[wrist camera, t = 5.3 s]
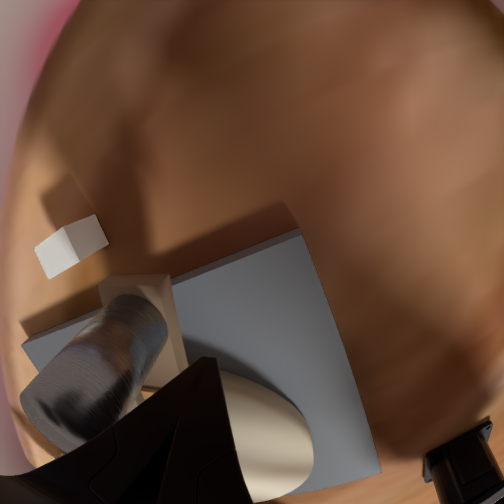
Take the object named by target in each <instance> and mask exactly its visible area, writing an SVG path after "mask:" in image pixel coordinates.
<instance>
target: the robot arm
mask: <svg viewBox="0 0 504 504" xmlns="http://www.w3.org/2000/svg"><path fill="white" fill-rule="evenodd" d="M113 426H114V427H113ZM113 426H112V425H111V426H109V427H108V428H107V429H105V430H104V431H103V432H101V433H100V434H98V435H97V436H95V437H94V438H92V439H91V440H89V441H88V442H86V443H84V444H83V445H81V446H79V447H77V448H76V449H74V450H72V451H70V452H69V453H67V454H65V455H63V456H61V457H59V458H57V459H55V460H53V461H51V462H49V463H47V464H45V465H43V466H41V467H39V468H37V469H35V470H32V471H30V472H27V473H24V474H20V475H14V476H2V475H0V504H254V502H253V500H252V498H251V495H250V493H249V491H248V488H247V486H246V483H245V481H244V477H243V474H242V470H241V467H240V463H239V459H238V455H237V451H236V447H235V442H234V438H233V433H232V428H231V424H230V419H229V414H228V409H227V404H226V399H225V394H224V389H223V384H222V378H221V373H220V368H219V362H218V358H217V357H211V356H201V357H200V358H198V359H197V360H196V361H195V362H193V363H192V364H191V365H190V366H188V367H187V368H186V369H185V370H183V371H182V372H181V373H180V374H178V375H177V376H176V377H175V378H173V379H172V380H171V381H169V382H168V383H167V384H166V385H164V386H163V387H162V388H160V389H159V390H158V391H157V392H155V393H154V394H153V395H151V396H150V397H149V398H147V399H146V400H145V401H143V402H142V403H141V404H139V405H138V406H137V407H135V408H134V409H133V410H131V411H130V412H129V413H127V414H126V415H125V416H123V417H122V418H121V419H119V420H118V421H117V422H115V423H114V424H113ZM492 426H493V423H492V422H491V421H488V422H486V423H485V424H483V425H481V426H480V427H478V428H476V429H474V430H473V431H471V432H469V433H467V434H465V435H464V436H462V437H460V438H458V439H456V440H454V441H452V442H450V443H448V444H446V445H444V446H442V447H440V448H438V449H436V450H434V451H431V452H429V453H428V454H427V455H426V456H425V473H424V481H425V483H429V482H431V481H433V482H434V485H435V489H436V492H437V495H438V498H439V501H440V504H504V476H503V474H502V472H501V470H500V468H499V465H498V463H497V461H496V459H495V457H494V455H493V453H492V451H491V449H490V447H489V445H488V443H487V442H488V439H489V436H490V433H491V430H492ZM501 497H502V498H501ZM500 498H501V499H500ZM498 499H499V500H498ZM497 500H498V501H497ZM495 501H496V502H495ZM494 502H495V503H494Z"/></svg>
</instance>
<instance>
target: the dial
mask: <svg viewBox="0 0 504 504" xmlns="http://www.w3.org/2000/svg"><path fill="white" fill-rule="evenodd" d="M97 287H98V291H99V294H100V298H101V302H102V305H103V309H102V310H101V311H100V312H99V313H98V314H97V315H96V316H95V317H94V318H93V319H92V320H91V321H90V322H89V323H88V324H87V325H86V326H85V327H84V328H83V329H82V330H81V331H80V332H79V333H78V334H77V335H76V336H75V337H74V338H73V339H72V340H71V341H70V342H69V343H68V344H67V345H66V346H65V347H64V348H63V349H62V350H61V351H60V352H59V353H58V354H57V355H56V356H55V357H54V358H53V359H52V360H51V361H50V362H49V363H48V364H47V365H46V366H45V367H44V368H43V370H42V371H41V372H40V373H39V374H38V375H37V376H36V377H35V378H34V379H33V380H32V381H31V382H30V384H29V385H28V386H27V387H26V388H25V389H24V390H23V391H22V392H21V394H20V402H21V405H22V408H23V410H24V412H25V414H26V415H27V417H28V418H29V420H30V421H31V422H32V423H33V425H34V426H35V427H36V428H37V429H38V430H39V431H40V432H41V433H42V434H43V435H44V436H45V437H46V438H47V439H48V440H49V441H51V442H52V443H53V444H55V445H56V446H57V447H59V448H60V449H62V450H63V451H65V452H67V453H69V452H70V451H72V450H74V449H76V448H77V447H79V446H81V445H83V444H84V443H86V442H88V441H89V440H91V439H92V438H94V437H95V436H97V435H98V434H100V433H101V432H103V431H104V430H105V429H107V428H108V427H109V426H111V425H112V426H113V424H114V423H115V422H117V421H118V420H119V419H121V418H122V417H123V416H125V415H126V414H127V413H129V412H130V411H131V410H133V409H134V408H135V407H137V406H138V405H139V404H141V403H142V402H143V401H145V400H146V399H147V398H149V397H150V396H151V395H153V394H154V393H155V392H157V391H158V390H159V389H160V388H162V387H163V386H164V385H166V384H167V383H168V382H169V381H171V380H172V379H173V378H175V377H176V376H177V375H178V374H180V373H181V372H182V371H183V370H185V369H186V368H187V367H188V366H190V365H191V364H188V362H187V358H186V353H185V349H184V345H183V340H182V336H181V331H180V326H179V322H178V317H177V312H176V307H175V301H174V296H173V291H172V285H171V280H170V274H121V275H110V276H108V277H107V278H106V279H105V280H103V281H102V282H101V283H100V284H98V285H97ZM220 373H221V378H222V384H223V389H224V394H225V399H226V404H227V409H228V414H229V419H230V424H231V428H232V433H233V438H234V442H235V447H236V451H237V455H238V459H239V463H240V467H241V470H242V474H243V477H244V481H245V483H246V486H247V488H248V491H249V493H250V495H251V498H252V500H253V502H254V503H256V502H262V501H267V500H271V499H274V498H277V497H280V496H282V495H285V494H287V493H289V492H291V491H293V490H294V489H296V488H297V487H299V486H300V485H301V484H303V482H304V481H305V480H306V479H307V478H308V477H309V475H310V473H311V471H312V468H313V464H314V456H313V441H312V434H311V430H310V427H309V426H308V424H307V422H306V420H305V418H304V417H303V416H302V415H301V413H300V412H299V411H298V410H297V409H296V408H295V407H294V406H293V405H292V404H291V403H289V402H288V401H287V400H285V399H284V398H282V397H281V396H280V395H278V394H277V393H275V392H273V391H271V390H270V389H268V388H266V387H264V386H262V385H260V384H258V383H256V382H253V381H251V380H249V379H247V378H244V377H241V376H238V375H235V374H233V373H230V372H226V371H222V370H220ZM113 427H114V426H113Z"/></svg>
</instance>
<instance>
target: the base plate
mask: <svg viewBox="0 0 504 504" xmlns="http://www.w3.org/2000/svg"><path fill="white" fill-rule="evenodd" d="M107 245H109V242H108V240H107V238H106V236H105V234H104V232H103V230H102V228H101V226H100V224H99V222H98V219H97V217H96V215H95V214H94V215H91V216H89V217H86V218H83V219H81V220H78V221H76V222H73V223H71V224H68V225H66V226H63V227H62V228H60V229H59V230H58V231H56V232H55V233H54V234H52V235H51V236H50V237H48V238H47V239H46V240H44V241H43V242H42V243H40V244H39V245H38V246H36V247H35V248H34V250H35V252H36V254H37V256H38V259H39V261H40V263H41V265H42V267H43V269H44V271H45V273H46V275H47V277H48V279H49V280H50V279H51V278H53V277H55V276H56V275H58V274H60V273H61V272H63V271H65V270H66V269H68V268H70V267H71V266H73V265H75V264H77V263H78V262H80V261H82V260H83V259H85V258H87V257H88V256H90V255H92V254H93V253H95V252H97V251H98V250H100V249H102V248H103V247H105V246H107ZM170 280H171V285H172V291H173V296H174V301H175V307H176V312H177V317H178V322H179V326H180V331H181V336H182V340H183V345H184V349H185V353H186V358H187V362H188V364H192V363H193V362H195V361H196V360H197V359H198V358H200V357H201V356H211V357H217V358H218V362H219V368H220V370H222V371H226V372H230V373H233V374H235V375H238V376H241V377H244V378H247V379H249V380H251V381H253V382H256V383H258V384H260V385H262V386H264V387H266V388H268V389H270V390H271V391H273V392H275V393H277V394H278V395H280V396H281V397H282V398H284V399H285V400H287V401H288V402H289V403H291V404H292V405H293V406H294V407H295V408H296V409H297V410H298V411H299V412H300V413H301V415H302V416H303V417H304V418H305V420H306V422H307V424H308V426H309V427H310V430H311V434H312V441H313V456H314V464H313V468H312V471H311V473H310V475H309V477H308V478H307V479H306V480H305V481H304V482H303V484H301V485H300V486H299V487H297V488H296V489H294V490H293V491H291V492H289V493H287V494H285V495H282V496H287V495H293V494H299V493H305V492H310V491H315V490H320V489H325V488H329V487H333V486H338V485H342V484H345V483H349V482H353V481H356V480H360V479H363V478H367V477H370V476H373V475H376V474H379V473H382V471H381V467H380V463H379V459H378V455H377V451H376V448H375V444H374V441H373V437H372V434H371V430H370V427H369V423H368V420H367V416H366V413H365V410H364V406H363V403H362V400H361V397H360V394H359V390H358V387H357V384H356V381H355V378H354V375H353V372H352V368H351V365H350V362H349V359H348V356H347V353H346V350H345V347H344V345H343V342H342V339H341V336H340V333H339V330H338V327H337V324H336V322H335V319H334V316H333V313H332V310H331V308H330V305H329V302H328V299H327V297H326V294H325V291H324V289H323V286H322V283H321V280H320V278H319V275H318V273H317V270H316V267H315V265H314V262H313V260H312V257H311V254H310V252H309V249H308V247H307V244H306V242H305V239H304V237H303V234H302V232H301V229H300V227H299V228H297V229H294V230H292V231H289V232H287V233H284V234H282V235H279V236H277V237H274V238H272V239H269V240H267V241H264V242H262V243H259V244H257V245H254V246H252V247H249V248H247V249H244V250H242V251H239V252H237V253H234V254H232V255H229V256H227V257H224V258H222V259H219V260H217V261H214V262H212V263H209V264H207V265H204V266H202V267H199V268H197V269H194V270H192V271H190V272H187V273H185V274H182V275H180V276H177V277H175V278H172V279H170ZM102 309H103V307H101V308H99V309H96V310H94V311H91V312H89V313H86V314H84V315H82V316H79V317H77V318H74V319H72V320H69V321H67V322H65V323H62V324H60V325H57V326H55V327H53V328H50V329H48V330H45V331H43V332H40V333H38V334H36V335H33V336H31V337H30V338H28V339H27V340H26V341H25V342H24V343H23V344H22V345H21V346H22V348H23V349H24V351H25V352H26V354H27V356H28V357H29V358H30V360H31V361H32V363H33V364H34V366H35V367H36V369H37V370H38V371H39V373H40V372H41V371H42V370H43V368H44V367H45V366H46V365H47V364H48V363H49V362H50V361H51V360H52V359H53V358H54V357H55V356H56V355H57V354H58V353H59V352H60V351H61V350H62V349H63V348H64V347H65V346H66V345H67V344H68V343H69V342H70V341H71V340H72V339H73V338H74V337H75V336H76V335H77V334H78V333H79V332H80V331H81V330H82V329H83V328H84V327H85V326H86V325H87V324H88V323H89V322H90V321H91V320H92V319H93V318H94V317H95V316H96V315H97V314H98V313H99V312H100V311H101V310H102Z"/></svg>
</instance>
